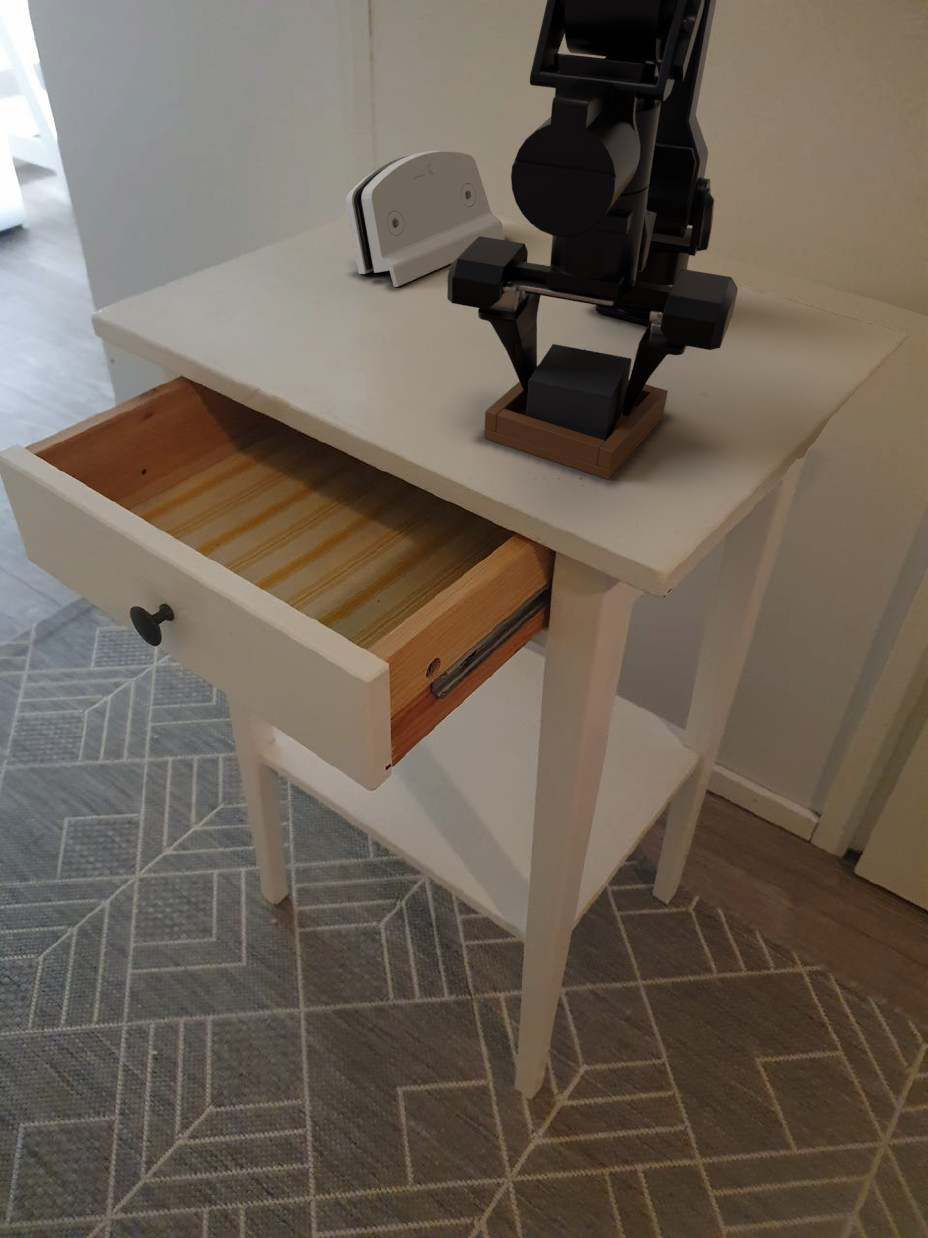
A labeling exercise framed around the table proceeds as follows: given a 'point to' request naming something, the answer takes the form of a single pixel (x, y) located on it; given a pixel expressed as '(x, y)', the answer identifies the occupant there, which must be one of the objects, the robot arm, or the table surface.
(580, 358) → the black block
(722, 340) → the robot arm
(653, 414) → the shallow brown tray
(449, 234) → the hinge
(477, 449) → the table surface
